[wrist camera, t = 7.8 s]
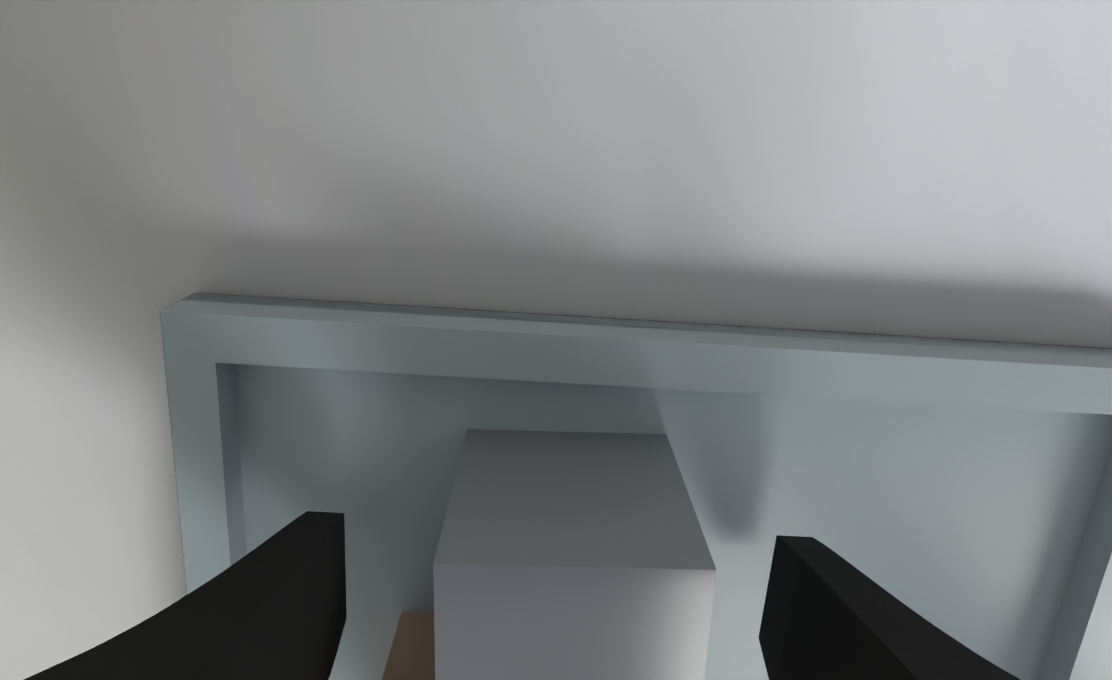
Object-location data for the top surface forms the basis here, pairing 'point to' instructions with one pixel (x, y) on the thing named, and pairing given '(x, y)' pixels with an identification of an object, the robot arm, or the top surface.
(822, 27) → the top surface
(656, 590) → the plain grey cube
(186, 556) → the parts tray
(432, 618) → the cardboard tan cube
